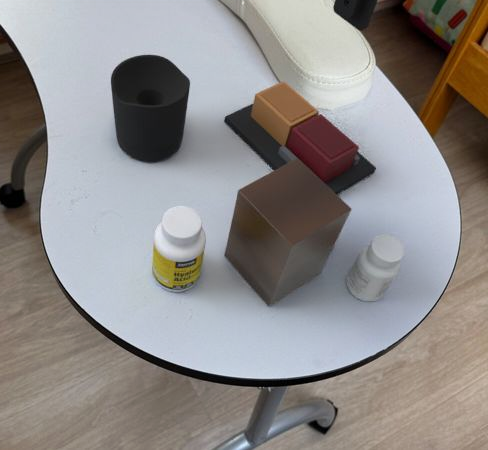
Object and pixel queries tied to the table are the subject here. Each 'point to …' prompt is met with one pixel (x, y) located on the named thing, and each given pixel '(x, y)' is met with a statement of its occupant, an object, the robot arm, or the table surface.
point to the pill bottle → (375, 268)
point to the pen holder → (149, 106)
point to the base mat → (281, 155)
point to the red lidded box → (322, 147)
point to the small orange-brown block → (281, 111)
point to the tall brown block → (284, 230)
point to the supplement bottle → (178, 249)
